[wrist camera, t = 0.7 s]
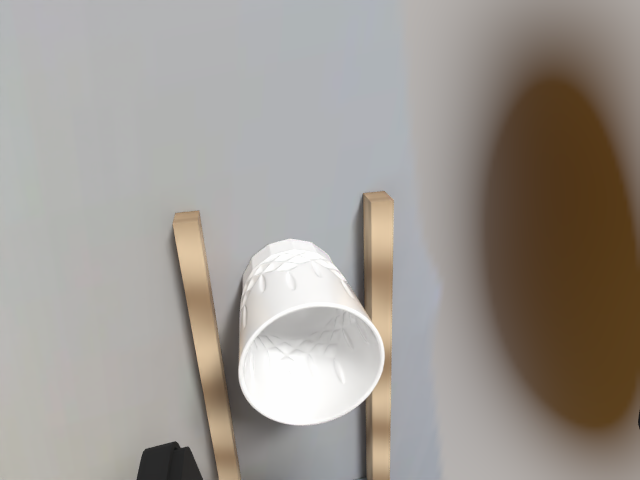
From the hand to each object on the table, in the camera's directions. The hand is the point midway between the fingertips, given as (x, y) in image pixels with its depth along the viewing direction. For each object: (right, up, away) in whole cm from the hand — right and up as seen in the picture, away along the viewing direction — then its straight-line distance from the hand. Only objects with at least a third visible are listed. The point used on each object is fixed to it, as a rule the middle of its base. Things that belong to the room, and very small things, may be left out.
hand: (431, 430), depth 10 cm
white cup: (-4, +1, +25) cm, 26 cm away
